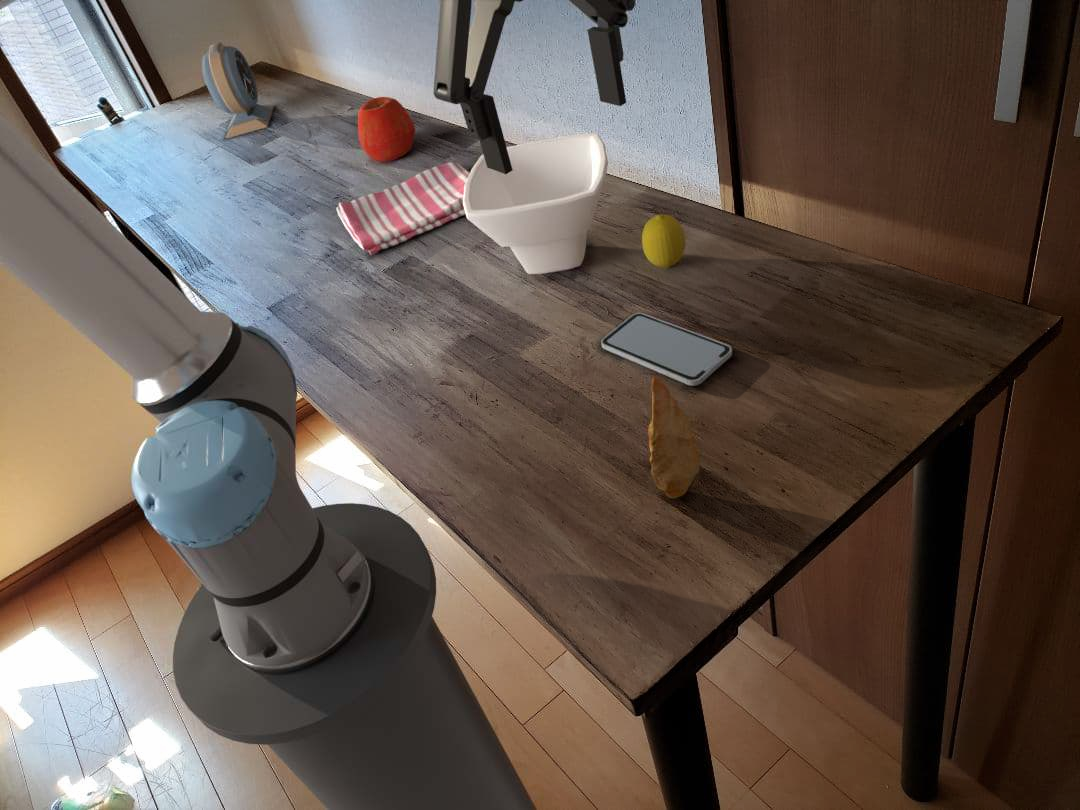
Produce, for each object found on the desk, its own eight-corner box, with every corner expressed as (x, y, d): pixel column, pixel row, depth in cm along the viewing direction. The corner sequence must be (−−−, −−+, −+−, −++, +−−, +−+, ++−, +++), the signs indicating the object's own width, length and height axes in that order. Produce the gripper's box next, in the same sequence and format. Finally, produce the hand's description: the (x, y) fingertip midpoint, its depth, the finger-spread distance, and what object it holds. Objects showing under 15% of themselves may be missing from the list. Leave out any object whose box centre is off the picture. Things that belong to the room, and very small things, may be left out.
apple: (432, 145, 160) (414, 90, 153) (387, 171, 155) (367, 116, 148) (400, 135, 166) (381, 83, 160) (356, 160, 162) (335, 108, 155)
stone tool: (687, 471, 84) (668, 357, 75) (705, 481, 83) (689, 366, 73) (653, 502, 82) (630, 389, 73) (671, 513, 81) (649, 399, 71)
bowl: (625, 287, 110) (607, 193, 101) (483, 309, 114) (454, 220, 105) (623, 215, 124) (607, 127, 115) (497, 236, 128) (472, 152, 119)
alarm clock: (267, 128, 187) (230, 49, 175) (225, 140, 187) (186, 61, 176) (273, 105, 198) (239, 29, 186) (234, 116, 198) (198, 41, 187)
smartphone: (637, 310, 105) (735, 347, 95) (638, 316, 105) (736, 353, 96) (597, 342, 102) (694, 384, 92) (598, 348, 102) (695, 390, 92)
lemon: (638, 273, 112) (629, 221, 107) (663, 252, 115) (655, 200, 109) (672, 283, 109) (664, 230, 104) (696, 260, 111) (690, 207, 106)
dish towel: (339, 221, 144) (331, 203, 142) (460, 169, 149) (455, 151, 146) (367, 261, 132) (359, 242, 129) (498, 202, 136) (493, 183, 134)
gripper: (382, -81, 54) (473, 210, 67) (654, -195, 63) (685, 82, 76) (328, -83, 59) (423, 189, 72) (588, -189, 68) (628, 71, 81)
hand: (558, 134), depth 74 cm, fingers open, 13 cm apart
